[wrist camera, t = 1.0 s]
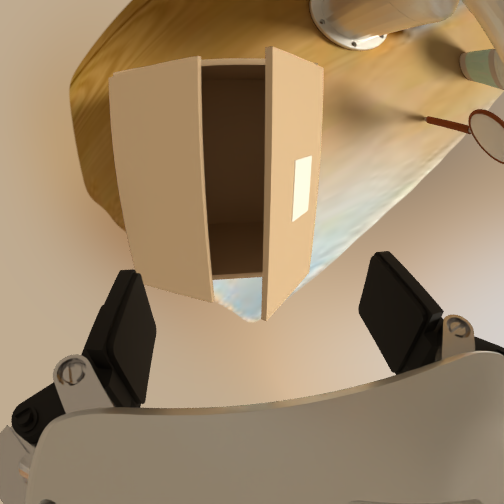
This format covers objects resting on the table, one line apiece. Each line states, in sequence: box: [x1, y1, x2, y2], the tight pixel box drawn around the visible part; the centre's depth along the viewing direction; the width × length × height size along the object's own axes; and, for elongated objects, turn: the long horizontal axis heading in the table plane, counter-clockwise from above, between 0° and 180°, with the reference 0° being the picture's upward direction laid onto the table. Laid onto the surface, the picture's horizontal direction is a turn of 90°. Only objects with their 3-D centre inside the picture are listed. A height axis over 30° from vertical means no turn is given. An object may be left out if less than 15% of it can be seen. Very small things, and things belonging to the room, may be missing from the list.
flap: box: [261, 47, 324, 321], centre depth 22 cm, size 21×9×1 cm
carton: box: [113, 58, 318, 280], centre depth 30 cm, size 22×18×14 cm
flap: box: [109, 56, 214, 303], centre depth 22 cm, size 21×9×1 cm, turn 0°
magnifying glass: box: [424, 109, 504, 164], centre depth 27 cm, size 9×2×20 cm, turn 48°
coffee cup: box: [460, 49, 504, 90], centre depth 25 cm, size 8×8×12 cm
